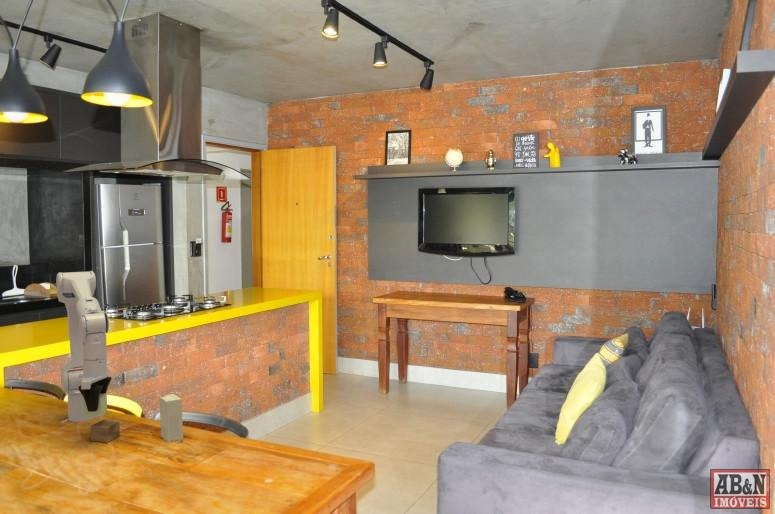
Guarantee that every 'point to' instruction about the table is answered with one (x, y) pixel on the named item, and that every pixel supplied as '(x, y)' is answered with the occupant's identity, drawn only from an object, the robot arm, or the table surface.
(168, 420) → the skincare box
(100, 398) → the sage block
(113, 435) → the walnut block
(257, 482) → the table surface
